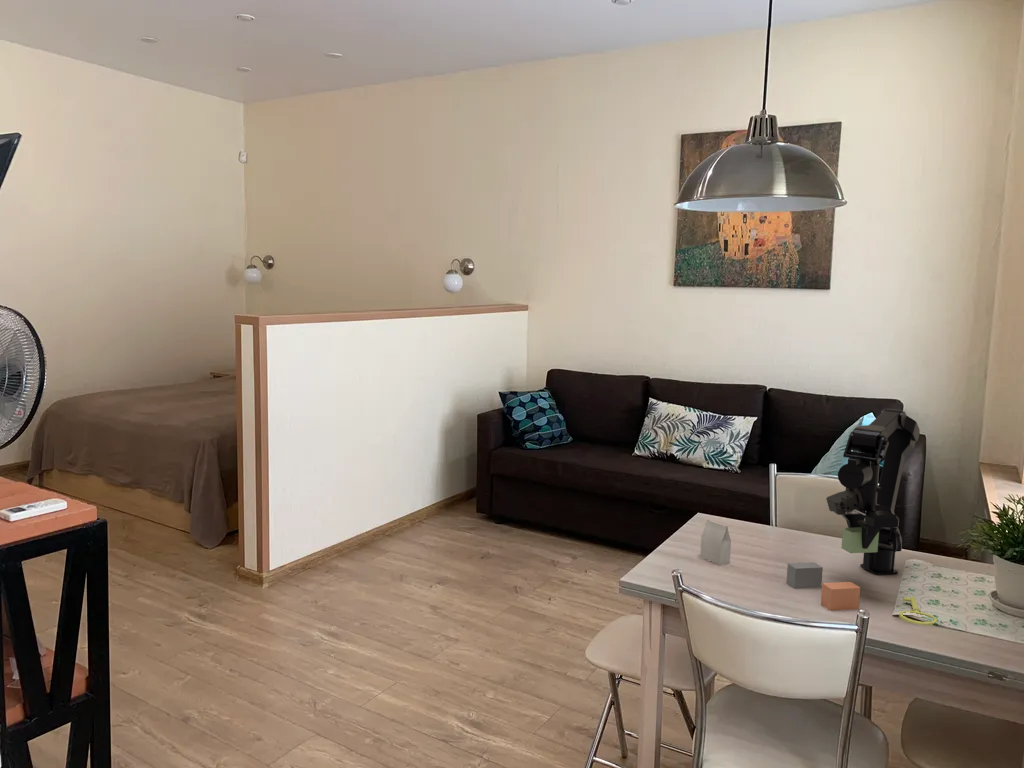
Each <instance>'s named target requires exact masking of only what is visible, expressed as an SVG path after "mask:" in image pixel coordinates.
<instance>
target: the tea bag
mask: <svg viewBox="0 0 1024 768" xmlns="http://www.w3.org/2000/svg"><path fill="white" fill-rule="evenodd" d="M729 533H730V532H729V528H728V526H727V525H724V524H721V523H719V522H717V521H712V520H709V519H706V523H705V526H704V528H703V531H702V533H701V537H700V538H701V540H700V542H701V543H700V557H702V558H701V559H703V558H704V559H703V560H705V559H707V560H706V561H708V560H709V561H708V562H710V561H712V562H711V563H713V562H714V563H713V564H715V563H716V564H715V565H717V564H718V565H717V566H723V565H722V564H724V565H727V563H728V564H731V552H732V551H731V547H732V540H731V536H730V534H729ZM700 557H699V558H700Z"/></svg>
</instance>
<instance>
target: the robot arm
mask: <svg viewBox="0 0 1024 768" xmlns="http://www.w3.org/2000/svg"><path fill="white" fill-rule="evenodd" d="M919 438H920V427H919V424H918V423H917V421H916V420H914V419H913V418H911V417H910V416H909V415H907V413H906V411H904V410H902V409H893V408H885V409H882V410H881V412H880V414H879V415H878V416H877V417H876V418H875V419H874V420H872V421H871V422H870V423H869V424H867V425H859V426H856V427H855V428H853V430H852V431H851V432H850V433H849V436H848V439H847V442H846V445H845V447H844V448H845V449H844V452H843V454H842V456H843V458H846V459H847V458H848V459H847V463H845V464H843V465H842V466H841V467H840V468H839V470H837V471H838V472H837V478H838V482H839V483H840V484H841V486H843V487H845V490H844V491H839V492H836V493H834V494H831V495H829V496H826V499H825V500H826V503H827V506H828V510H829V511H830V512H832V513H834V514H836V515H840V516H842V518H844V519H845V521H846V524H847V528H856V527H862V548H863V549H867V548H868V547H869V545H870V544H871V542H872V541H873V539H874V538H875V536H876V535H877V534H878V532H879V538H878V551H877V552H869V553H863V560H862V563H860V565H859V566H860V567H861V568H863V569H865V570H867V571H869V572H870V573H871V574H874V575H891V574H892V575H893V574H894V575H896V574H899V571H898V570H896V569H895V561H896V560H895V557H896V553H897V552H902V549H903V538H902V535H901V532H900V528H899V524H900V518H899V517H898V516H897V514H895V509H896V502H897V498H898V493H899V489H900V483H901V479H902V474H903V470H904V469H903V468H904V464H905V460H906V457H907V456H908V455H909V454H911V452H912V451H913V450H914V449H915V447H916V442H918V441H919ZM882 460H883V464H882V469H881V473H880V465H881V464H880V462H881V461H882ZM879 474H880V475H879ZM879 476H880V477H879Z"/></svg>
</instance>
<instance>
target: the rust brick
mask: <svg viewBox="0 0 1024 768" xmlns="http://www.w3.org/2000/svg"><path fill="white" fill-rule="evenodd" d="M860 596H861V587H860V586H858V585H857V584H855V583H853V582H852V581H842V582H841V581H840V582H822V585H821V596H820V597H821V598H820V605H822V607H824V608H825V609H827V611H831V612H832V611H833V612H834V611H849V610H860V600H861V599H860V598H861V597H860Z"/></svg>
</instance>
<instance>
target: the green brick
mask: <svg viewBox="0 0 1024 768" xmlns="http://www.w3.org/2000/svg"><path fill="white" fill-rule="evenodd" d="M841 537H842V538H841V549H842V550H844V551H846V552H848V553H849V554H864V553H869V552H877V551H878V538H879V532H878V534H877V535H876V536H875V538H874V539H873V541H872V542H871V544H870V545H869V547H868V548H867V549H863V548H862V527H856V528H848V527H843V528H842V536H841Z"/></svg>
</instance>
